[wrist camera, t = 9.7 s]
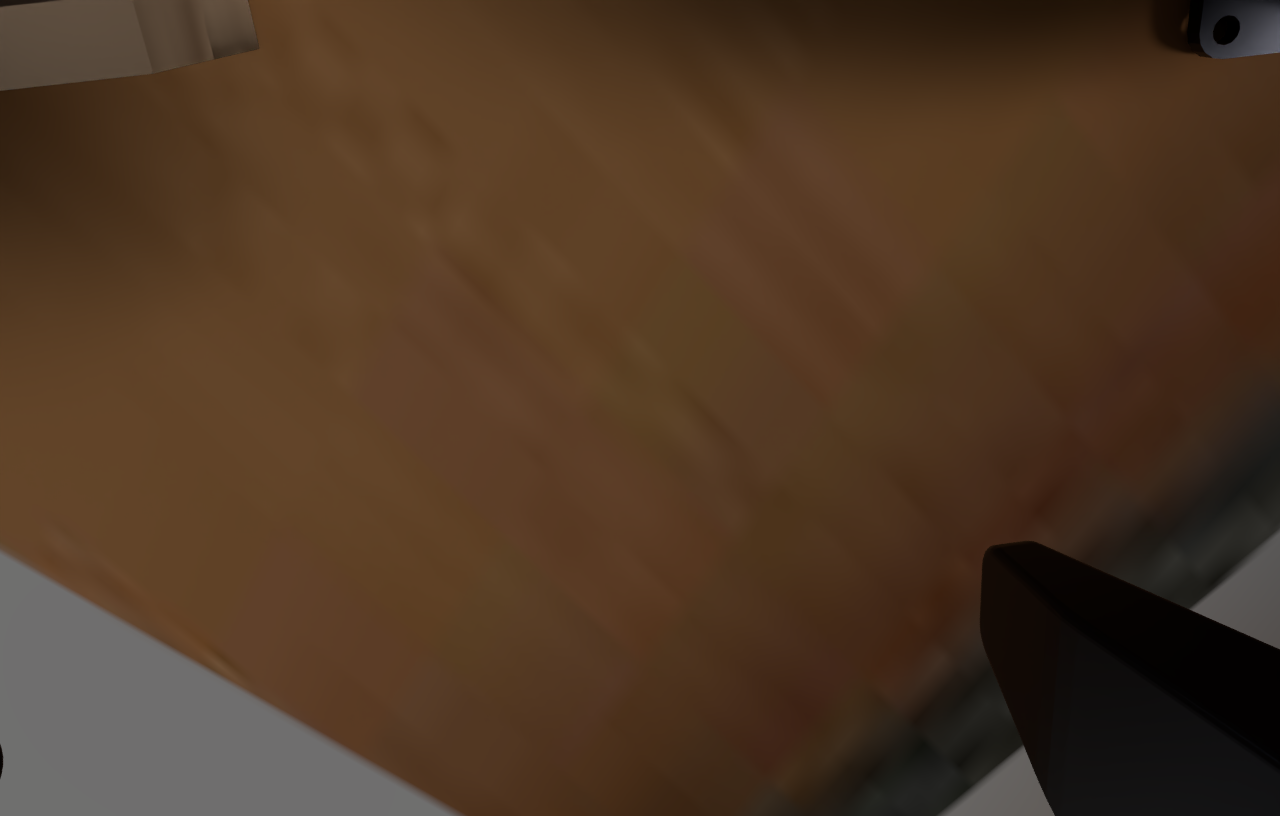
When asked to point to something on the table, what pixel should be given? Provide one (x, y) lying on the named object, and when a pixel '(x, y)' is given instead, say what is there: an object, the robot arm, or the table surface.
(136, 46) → the holder
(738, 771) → the table surface
